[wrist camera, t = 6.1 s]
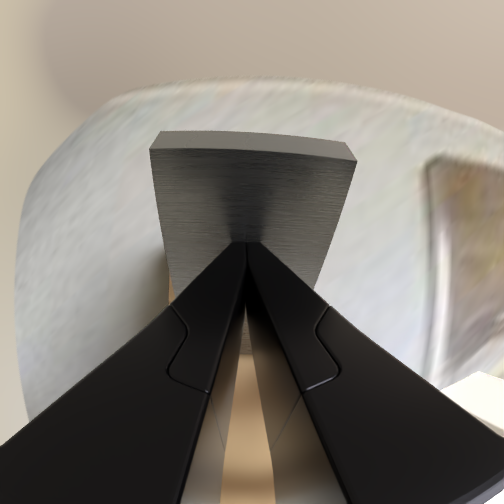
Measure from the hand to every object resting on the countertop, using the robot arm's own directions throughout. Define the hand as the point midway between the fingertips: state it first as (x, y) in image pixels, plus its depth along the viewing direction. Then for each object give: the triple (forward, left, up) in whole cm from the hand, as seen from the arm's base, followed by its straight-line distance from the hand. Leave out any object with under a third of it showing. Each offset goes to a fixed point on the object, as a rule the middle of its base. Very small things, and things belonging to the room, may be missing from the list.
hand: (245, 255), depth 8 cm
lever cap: (-4, 0, -6) cm, 8 cm away
